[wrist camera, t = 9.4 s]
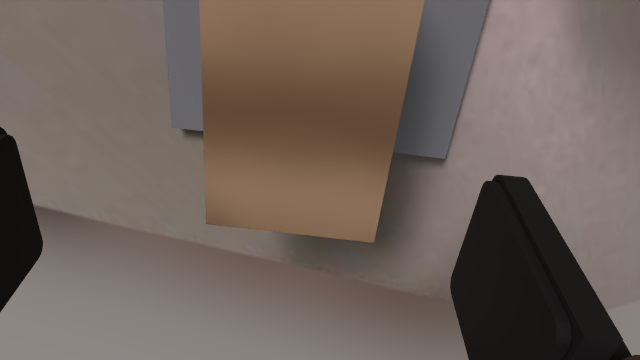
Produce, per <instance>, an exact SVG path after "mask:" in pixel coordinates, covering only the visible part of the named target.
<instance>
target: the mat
mask: <svg viewBox="0 0 640 360" xmlns="http://www.w3.org/2000/svg"><path fill="white" fill-rule="evenodd" d="M163 4H164V19H165V33H166V47H167V62H168V76H169V91H170V105H171V120H172V128H180V129H189V130H197V131H203V107H202V75H201V43H200V11H199V0H163ZM488 4H489V0H425V1H424V6H423V11H422V16H421V20H420V25H419V30H418V35H417V39H416V44H415V49H414V54H413V59H412V63H411V68H410V73H409V78H408V82H407V87H406V92H405V97H404V102H403V106H402V111H401V116H400V121H399V125H398V130H397V135H396V140H395V145H394V149H393V153H398V154H407V155H416V156H424V157H433V158H442V159H445V158H446V154H447V151H448V147H449V144H450V140H451V136H452V133H453V129H454V126H455V122H456V119H457V115H458V111H459V108H460V104H461V101H462V97H463V93H464V90H465V86H466V83H467V79H468V76H469V72H470V68H471V65H472V61H473V58H474V54H475V50H476V47H477V43H478V40H479V36H480V32H481V29H482V25H483V22H484V18H485V15H486V11H487V7H488Z"/></svg>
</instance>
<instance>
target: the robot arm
mask: <svg viewBox="0 0 640 360" xmlns="http://www.w3.org/2000/svg"><path fill="white" fill-rule="evenodd" d="M42 247H43V241H42V236H41V233H40V229H39V225H38V221H37V218H36V214H35V211H34V207H33V203H32V199H31V196H30V192H29V188H28V185H27V181H26V177H25V173H24V170H23V166H22V162H21V159H20V155H19V151H18V148H17V144H16V141H15V139H14V138H13V137H12V136H10V135H7V133H6V131H5V130H4V129H3V128H1V127H0V312H1V310H2V309H3V308H4V306H5V305H6V303H7V302H8V301H9V299H10V298H11V296H12V295H13V294H14V292H15V291H16V289H17V288H18V287H19V285H20V284H21V282H22V281H23V280H24V278H25V277H26V275H27V274H28V273H29V271H30V270H31V268H32V267H33V266H34V264H35V263H36V261H37V260H38V258H39V257H40V255H41V252H42ZM450 288H451V295H452V299H453V302H454V306H455V310H456V313H457V317H458V321H459V325H460V328H461V332H462V336H463V339H464V343H465V347H466V351H467V354H468V358H469V360H640V355H633V356H632V355H631V354H630V352H629V350H628V349H627V347H626V345H625V343H624V342H623V339H622V337H621V335H620V333H619V332H618V330H617V328H616V327H615V325H614V323H613V322H612V320H611V318H610V317H609V315H608V313H607V312H606V310H605V308H604V307H603V305H602V303H601V301H600V300H599V298H598V296H597V295H596V293H595V291H594V290H593V288H592V286H591V285H590V283H589V281H588V280H587V278H586V276H585V275H584V273H583V271H582V269H581V268H580V266H579V264H578V263H577V261H576V259H575V258H574V256H573V254H572V253H571V251H570V249H569V248H568V246H567V244H566V243H565V241H564V239H563V237H562V236H561V234H560V232H559V231H558V229H557V227H556V226H555V224H554V222H553V221H552V219H551V217H550V216H549V214H548V212H547V211H546V209H545V207H544V205H543V204H542V202H541V200H540V199H539V197H538V195H537V194H536V192H535V190H534V189H533V187H532V185H531V184H530V182H529V180H528V179H527V178H524V177H515V176H505V175H496V176H495V177H494V178H493V180H492V181H486V182H485V183H484V184H483V186H482V188H481V191H480V194H479V197H478V200H477V203H476V206H475V209H474V212H473V215H472V218H471V221H470V224H469V227H468V229H467V232H466V235H465V238H464V241H463V244H462V247H461V250H460V253H459V256H458V259H457V262H456V265H455V268H454V271H453V273H452V277H451V285H450Z"/></svg>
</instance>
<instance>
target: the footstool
mask: <svg viewBox="0 0 640 360" xmlns="http://www.w3.org/2000/svg"><path fill="white" fill-rule="evenodd" d="M424 1H425V0H199V11H200V43H201V75H202V107H203V139H204V171H205V203H206V224H211V225H219V226H228V227H237V228H246V229H255V230H264V231H273V232H282V233H291V234H300V235H309V236H318V237H326V238H335V239H344V240H353V241H362V242H371V243H374V240H375V235H376V230H377V226H378V221H379V216H380V211H381V207H382V202H383V197H384V192H385V187H386V183H387V178H388V173H389V168H390V164H391V159H392V154H393V149H394V145H395V140H396V135H397V130H398V125H399V121H400V116H401V111H402V106H403V102H404V97H405V92H406V87H407V82H408V78H409V73H410V68H411V63H412V59H413V54H414V49H415V44H416V39H417V35H418V30H419V25H420V20H421V16H422V11H423V6H424Z"/></svg>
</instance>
